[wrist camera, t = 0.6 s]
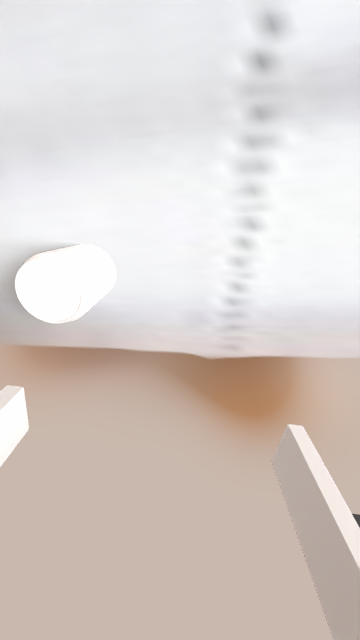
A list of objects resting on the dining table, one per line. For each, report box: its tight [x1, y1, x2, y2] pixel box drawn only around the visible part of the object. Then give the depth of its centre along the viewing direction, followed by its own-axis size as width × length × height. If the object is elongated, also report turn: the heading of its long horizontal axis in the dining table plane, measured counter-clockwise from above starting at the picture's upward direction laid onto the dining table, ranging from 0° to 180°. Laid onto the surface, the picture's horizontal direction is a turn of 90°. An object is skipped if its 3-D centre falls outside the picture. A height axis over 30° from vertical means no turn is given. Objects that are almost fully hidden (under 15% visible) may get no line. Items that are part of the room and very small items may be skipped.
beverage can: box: [15, 244, 116, 323], centre depth 31 cm, size 8×8×12 cm
